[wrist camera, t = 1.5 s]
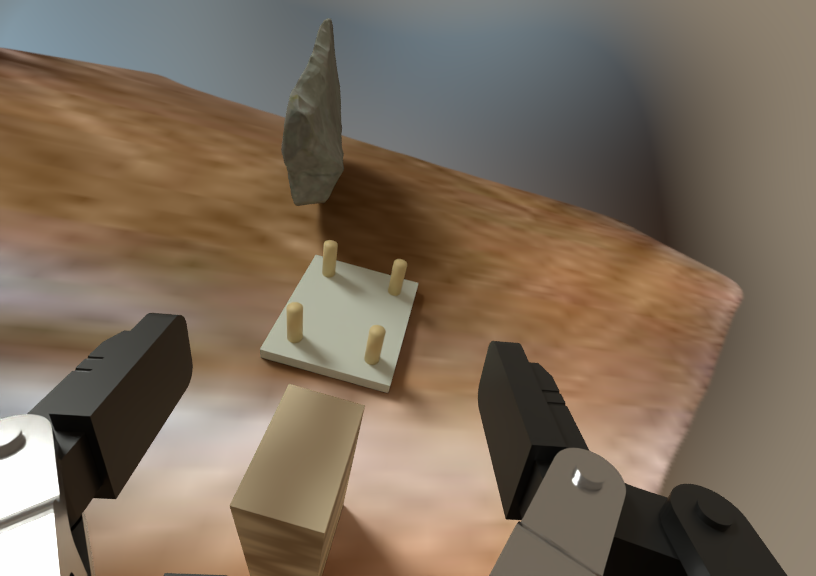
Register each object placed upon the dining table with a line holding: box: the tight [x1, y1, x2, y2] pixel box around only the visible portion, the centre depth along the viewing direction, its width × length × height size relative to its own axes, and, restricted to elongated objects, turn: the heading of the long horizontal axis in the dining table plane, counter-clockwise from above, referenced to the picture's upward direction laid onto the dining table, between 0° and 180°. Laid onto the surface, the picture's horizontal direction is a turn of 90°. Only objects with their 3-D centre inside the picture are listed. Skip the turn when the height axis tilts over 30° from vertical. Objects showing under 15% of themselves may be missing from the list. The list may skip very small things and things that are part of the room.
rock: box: [282, 19, 344, 206], centre depth 52 cm, size 27×6×20 cm, turn 5°
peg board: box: [260, 240, 418, 393], centre depth 42 cm, size 12×14×5 cm
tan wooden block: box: [230, 384, 365, 576], centre depth 24 cm, size 4×6×14 cm, turn 169°
